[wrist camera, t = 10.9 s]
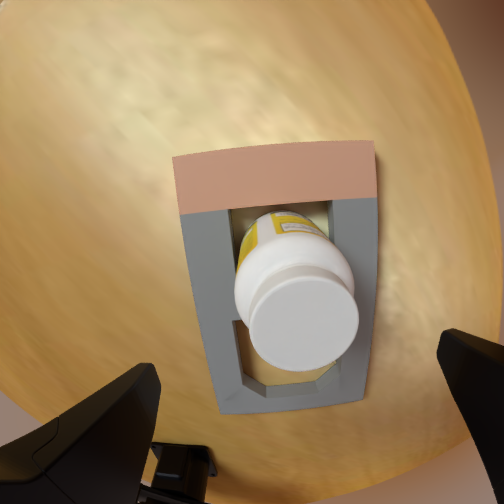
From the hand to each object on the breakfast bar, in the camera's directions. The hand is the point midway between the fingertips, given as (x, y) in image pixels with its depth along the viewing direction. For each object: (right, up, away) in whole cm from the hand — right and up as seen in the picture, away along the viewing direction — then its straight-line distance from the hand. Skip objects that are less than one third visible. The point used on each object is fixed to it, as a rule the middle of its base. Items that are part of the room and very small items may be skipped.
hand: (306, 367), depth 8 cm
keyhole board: (+1, 0, +12) cm, 12 cm away
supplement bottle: (0, +3, +12) cm, 12 cm away
